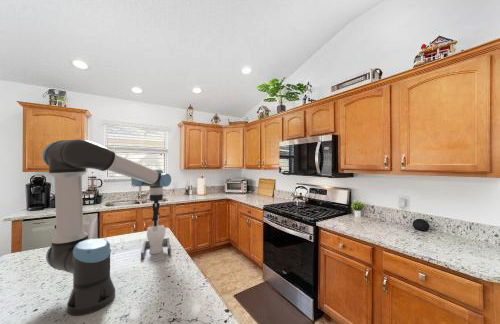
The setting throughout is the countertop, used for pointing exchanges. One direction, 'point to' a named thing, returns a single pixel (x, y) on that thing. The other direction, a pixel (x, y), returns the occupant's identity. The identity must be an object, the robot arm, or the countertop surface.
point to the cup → (156, 239)
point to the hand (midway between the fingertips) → (155, 228)
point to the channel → (147, 244)
